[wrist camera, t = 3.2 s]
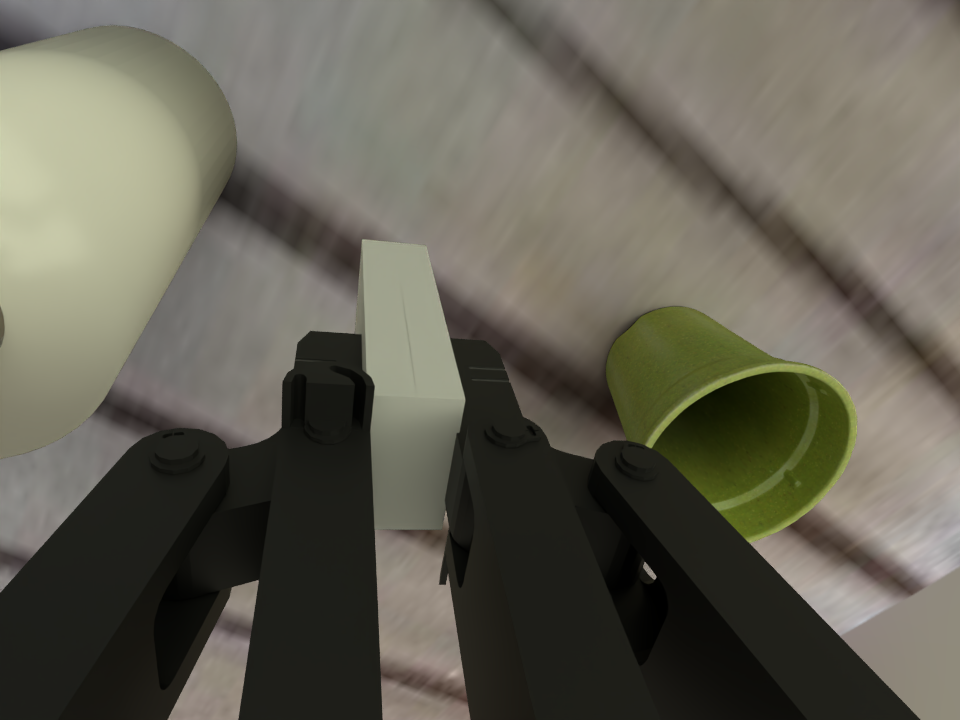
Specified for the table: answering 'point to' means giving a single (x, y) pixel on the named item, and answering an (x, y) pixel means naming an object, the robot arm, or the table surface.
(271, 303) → the table surface
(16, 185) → the cream bottle
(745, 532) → the plant pot
